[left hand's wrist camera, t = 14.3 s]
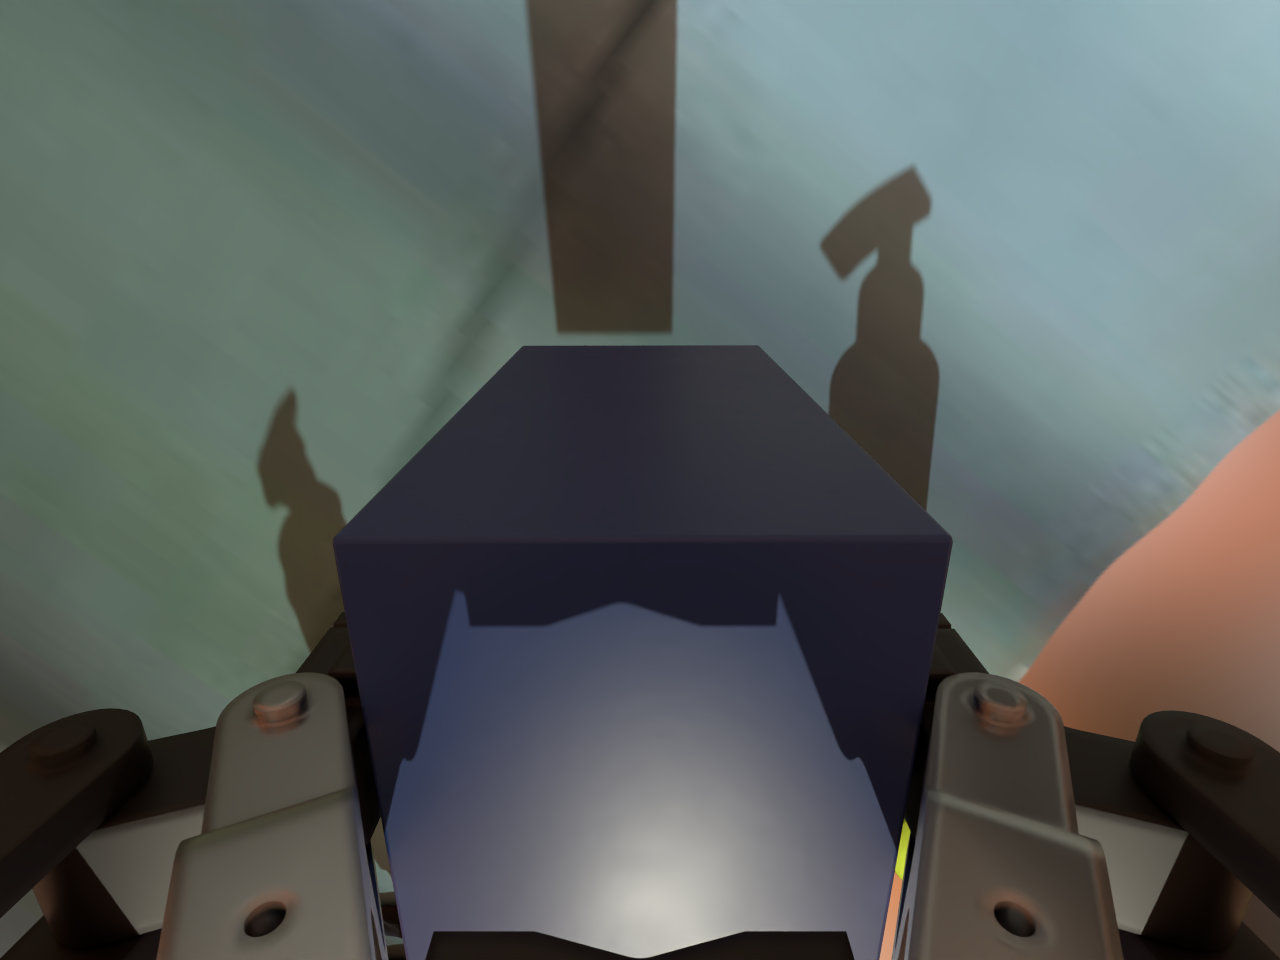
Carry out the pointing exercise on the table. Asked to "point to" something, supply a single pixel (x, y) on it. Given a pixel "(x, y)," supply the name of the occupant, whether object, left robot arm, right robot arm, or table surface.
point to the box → (642, 656)
